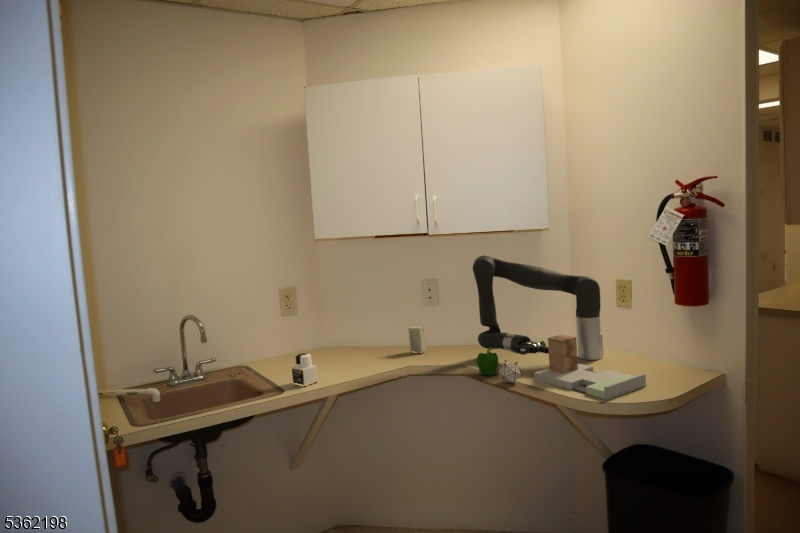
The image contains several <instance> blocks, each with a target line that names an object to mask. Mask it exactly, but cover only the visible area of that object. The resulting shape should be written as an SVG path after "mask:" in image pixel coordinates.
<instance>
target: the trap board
mask: <svg viewBox="0 0 800 533" xmlns="http://www.w3.org/2000/svg"><path fill="white" fill-rule="evenodd" d="M577 363H578V362H577ZM646 376H647V375H646V374H645V373H640V374H638V375H632V374H629V373H628V374H626V373H622V372H618V371H614V370H610V369H606V370H603V371H599V372H596V371H594V366H592V365H588V364H587V365H586V364H584V363H583V364H582V363H578V370H575V371H571V372H568V373H565V374H564V373H560V372H557V371H553V370H550V367H549V368H548V367H547V368H545V369H542V370H539V371H535V372H534V373H533V377H534V378H533V380H534V381H539V382H543V383H547V384H548V385H549V384H550V385H554V386H556V387H560V388H563V387H564V389H567V388H568V389H567V390H572V391H574V390H575V392H578V393H581V394H586V395H589V396H592V397H597V398H600V399H603V400H606V401H609V400H612V399H614V398H617V397H620V396H622V395H625V394H629V393H630V392H633V391H636V390H639V389H642V388H645V387H647V379H646V378H647V377H646Z"/></svg>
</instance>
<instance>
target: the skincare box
mask: <svg viewBox="0 0 800 533" xmlns="http://www.w3.org/2000/svg"><path fill="white" fill-rule="evenodd" d="M425 336H426V335H425V327H424V326H410V327H408V337H409V346H410V347H409V348H410V352H411V351H415V352H423V351H425V350H426V351H427V348H426V339H425Z"/></svg>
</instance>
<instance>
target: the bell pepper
mask: <svg viewBox="0 0 800 533" xmlns="http://www.w3.org/2000/svg"><path fill="white" fill-rule="evenodd" d="M493 350H494V349H493V348H488V349H487V350H486V352H485V353H484V352H479V353H478V355H477V357H476V364H477V369H478V370H479V372H480V374H481V375H485V376H494V375H496V373H497V372H498V371H497V369H498V366H499V356H498V354H497V352H490V351H493Z"/></svg>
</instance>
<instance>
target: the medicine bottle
mask: <svg viewBox="0 0 800 533" xmlns="http://www.w3.org/2000/svg"><path fill="white" fill-rule="evenodd" d="M291 373H292V383H293V382H294V383H298V384H302V385H305V384H308V383H310V382H313V381H316V380H318V381H319V378H318V366H317V365H316V364H313V363H312V355H311V354H310V353H308V352H304V353H299V354H297V355H296V356H295V366H292V368H291Z"/></svg>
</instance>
